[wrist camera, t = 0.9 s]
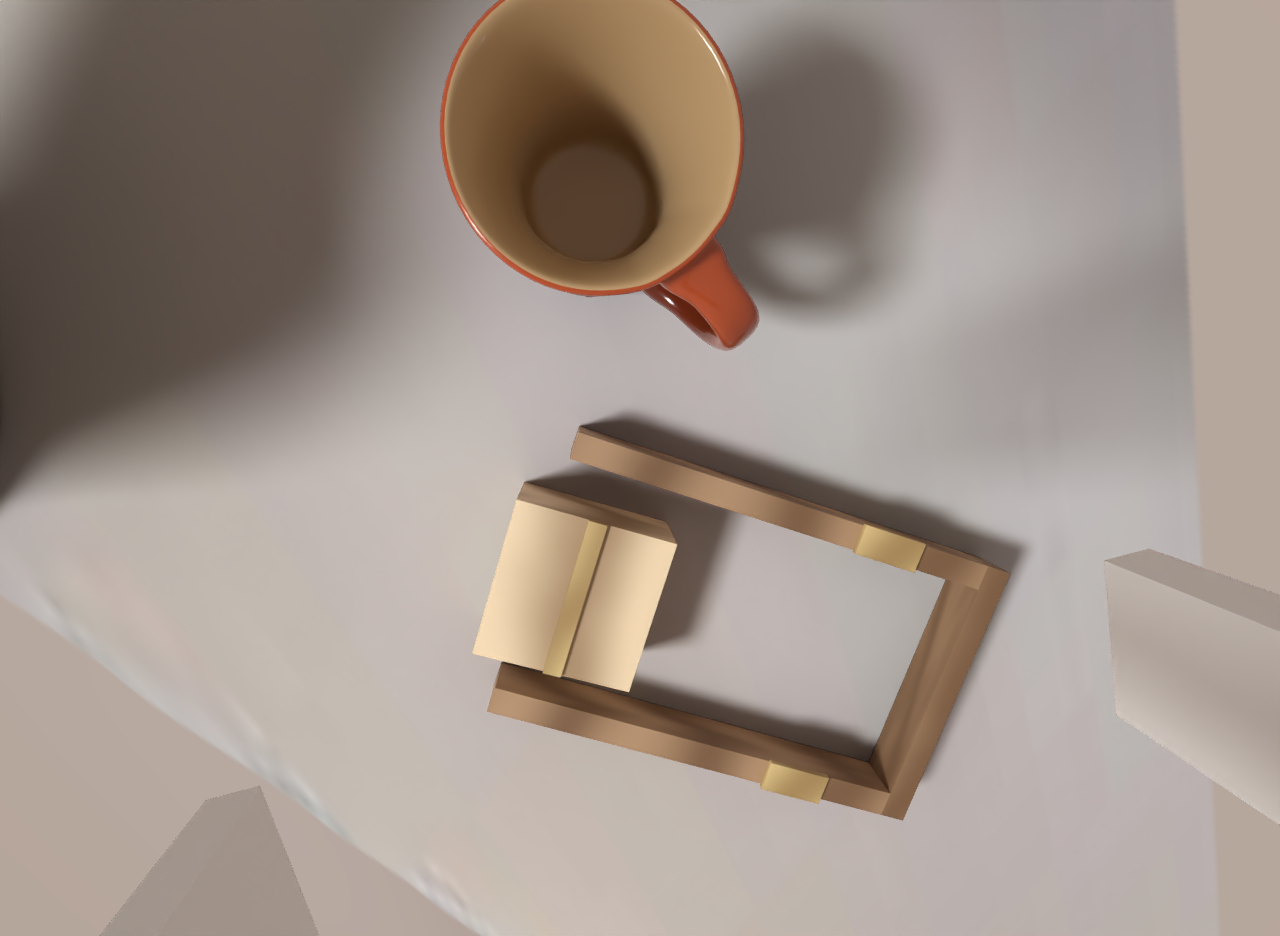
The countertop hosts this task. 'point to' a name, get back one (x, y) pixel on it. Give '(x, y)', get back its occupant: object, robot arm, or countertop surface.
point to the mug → (602, 153)
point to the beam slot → (756, 754)
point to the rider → (575, 588)
